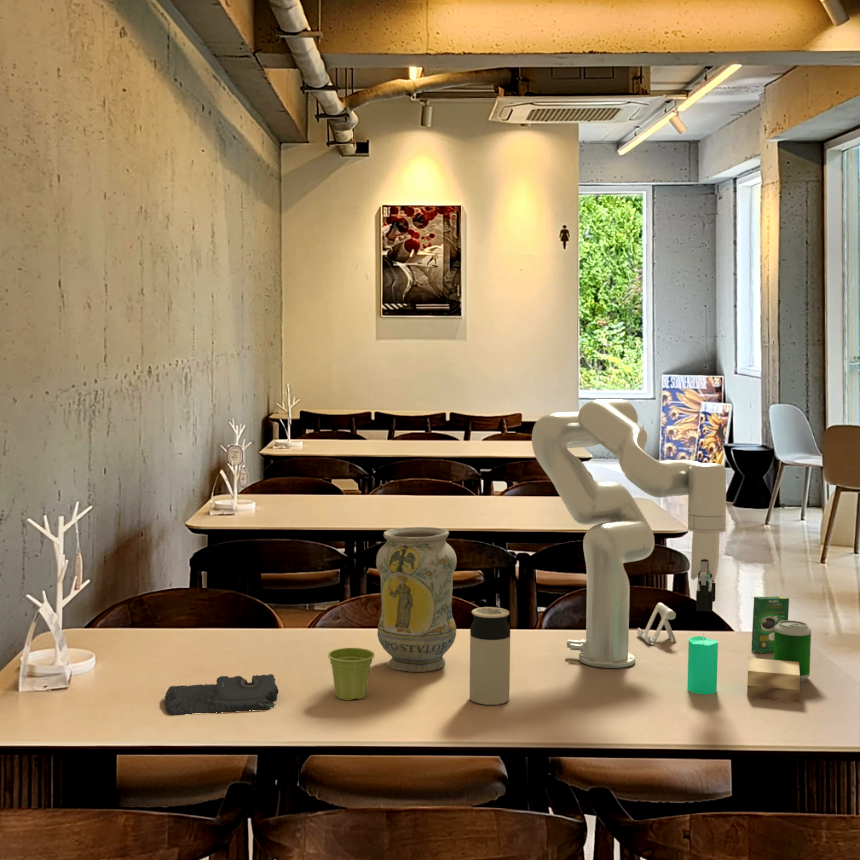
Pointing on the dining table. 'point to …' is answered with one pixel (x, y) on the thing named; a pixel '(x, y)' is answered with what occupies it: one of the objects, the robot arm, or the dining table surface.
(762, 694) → the tan flat block
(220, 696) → the dark slate chunk
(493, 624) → the travel mug
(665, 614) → the portable electronic device stand
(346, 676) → the plant pot
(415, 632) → the vase
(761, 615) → the coffee box
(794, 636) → the soda can
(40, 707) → the dining table surface
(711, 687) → the candle
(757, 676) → the oak block
